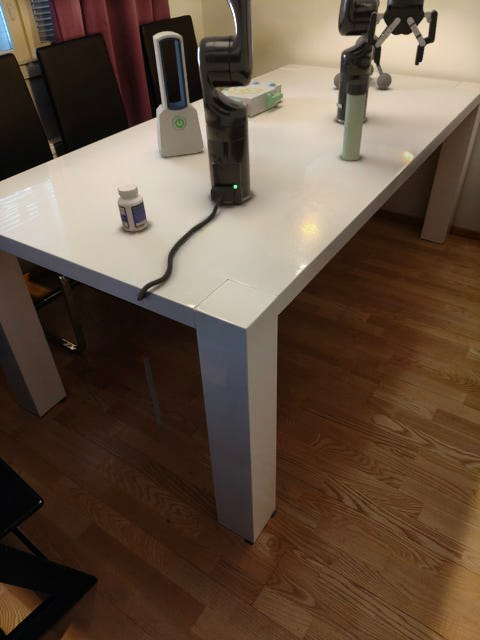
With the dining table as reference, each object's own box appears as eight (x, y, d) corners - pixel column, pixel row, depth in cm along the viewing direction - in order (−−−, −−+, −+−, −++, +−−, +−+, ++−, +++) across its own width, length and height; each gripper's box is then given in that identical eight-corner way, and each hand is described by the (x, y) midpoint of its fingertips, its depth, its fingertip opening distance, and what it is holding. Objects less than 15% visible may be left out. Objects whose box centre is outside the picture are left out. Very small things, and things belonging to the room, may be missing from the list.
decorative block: (245, 78, 184) (291, 83, 175) (246, 96, 188) (291, 102, 178) (203, 94, 168) (250, 100, 159) (204, 113, 172) (251, 121, 162)
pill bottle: (149, 220, 107) (142, 181, 102) (146, 231, 103) (138, 191, 98) (125, 221, 107) (116, 182, 102) (121, 232, 103) (112, 193, 98)
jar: (353, 161, 129) (360, 87, 118) (338, 158, 132) (344, 84, 121) (362, 156, 132) (370, 83, 121) (348, 153, 135) (354, 81, 123)
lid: (359, 95, 119) (360, 85, 118) (342, 93, 122) (342, 82, 120) (371, 91, 122) (372, 81, 120) (353, 88, 125) (354, 78, 123)
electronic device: (161, 157, 138) (144, 37, 120) (158, 149, 144) (140, 33, 126) (204, 151, 141) (193, 32, 122) (199, 144, 146) (188, 28, 128)
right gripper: (442, -25, 102) (427, 61, 112) (372, -22, 105) (364, 62, 115) (447, -22, 97) (431, 68, 107) (373, -19, 99) (364, 69, 109)
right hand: (396, 65), depth 111 cm, fingers open, 8 cm apart
